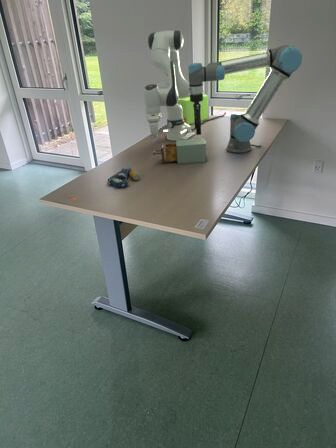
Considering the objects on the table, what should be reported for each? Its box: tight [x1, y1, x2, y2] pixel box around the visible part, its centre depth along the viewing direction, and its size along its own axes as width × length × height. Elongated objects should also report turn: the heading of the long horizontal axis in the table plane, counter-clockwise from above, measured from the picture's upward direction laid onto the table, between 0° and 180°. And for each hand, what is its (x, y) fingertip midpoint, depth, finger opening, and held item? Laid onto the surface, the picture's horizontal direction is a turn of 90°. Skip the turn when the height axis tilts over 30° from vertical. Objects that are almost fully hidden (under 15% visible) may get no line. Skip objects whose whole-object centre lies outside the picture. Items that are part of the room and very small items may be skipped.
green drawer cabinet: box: [175, 137, 207, 165], centre depth 205 cm, size 17×10×11 cm, turn 90°
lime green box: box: [177, 93, 210, 126], centre depth 283 cm, size 25×21×23 cm
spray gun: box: [106, 167, 141, 189], centre depth 186 cm, size 21×4×15 cm
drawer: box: [152, 142, 177, 164], centre depth 205 cm, size 22×9×9 cm, turn 90°
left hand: (156, 138), depth 201 cm, fingers closed
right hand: (197, 131), depth 198 cm, fingers open, 13 cm apart
